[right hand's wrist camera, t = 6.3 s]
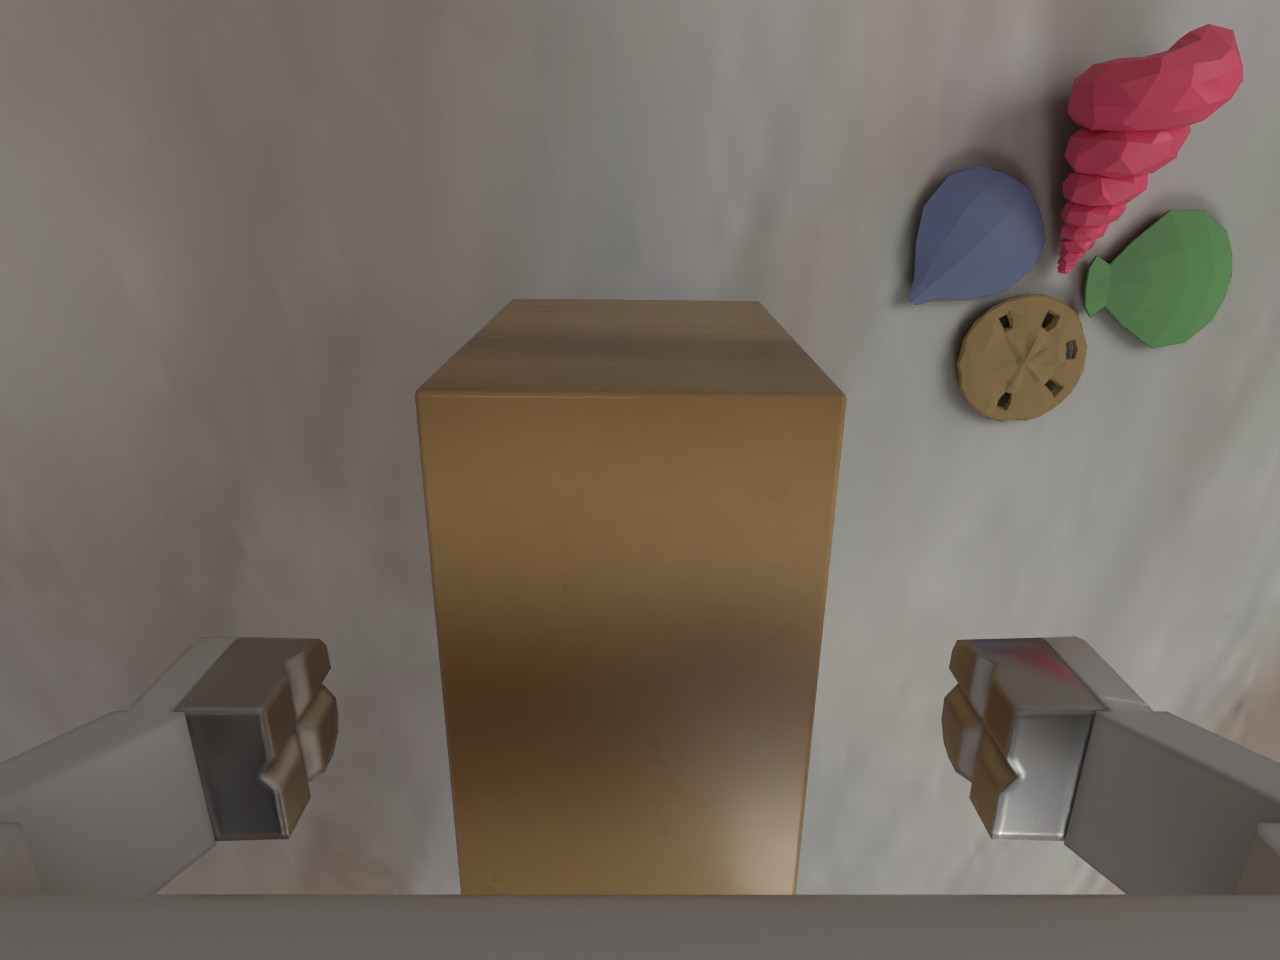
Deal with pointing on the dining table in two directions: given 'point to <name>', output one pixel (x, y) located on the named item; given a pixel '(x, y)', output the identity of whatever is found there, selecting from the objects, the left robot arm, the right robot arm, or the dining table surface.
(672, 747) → the box
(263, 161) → the dining table surface
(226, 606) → the dining table surface
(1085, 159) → the toy pieces
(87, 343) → the dining table surface
